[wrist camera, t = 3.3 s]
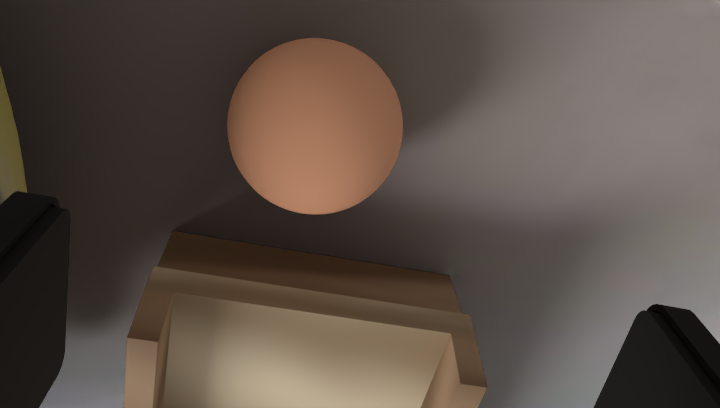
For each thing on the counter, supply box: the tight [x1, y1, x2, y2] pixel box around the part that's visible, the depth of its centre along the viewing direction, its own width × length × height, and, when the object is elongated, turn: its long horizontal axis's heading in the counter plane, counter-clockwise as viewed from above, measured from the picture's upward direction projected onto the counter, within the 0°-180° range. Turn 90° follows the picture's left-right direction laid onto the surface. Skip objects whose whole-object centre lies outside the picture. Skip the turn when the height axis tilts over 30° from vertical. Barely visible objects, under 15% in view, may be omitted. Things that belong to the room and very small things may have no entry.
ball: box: [227, 38, 403, 214], centre depth 19 cm, size 5×5×5 cm
